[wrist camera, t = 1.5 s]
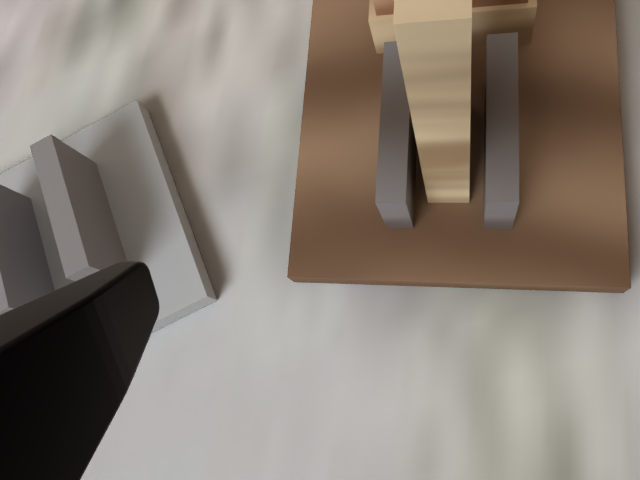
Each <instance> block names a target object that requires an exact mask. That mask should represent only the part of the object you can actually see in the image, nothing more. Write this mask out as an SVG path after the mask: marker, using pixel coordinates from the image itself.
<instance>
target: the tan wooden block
mask: <svg viewBox="0 0 640 480" xmlns="http://www.w3.org/2000/svg"><path fill="white" fill-rule="evenodd" d="M393 27H394V32H395V37H396V42H397V47H398V53H399V58H400V63H401V68H402V73H403V78H404V83H405V88H406V93H407V98H408V103H409V108H410V114H411V119H412V124H413V129H414V134H415V139H416V144H417V149H418V154H419V159H420V164H421V169H422V175H423V180H424V185H425V190H426V195H427V200H428V203H469V189H470V117H471V44H472V0H394V14H393Z"/></svg>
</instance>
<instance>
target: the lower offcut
mask: <svg viewBox="0 0 640 480" xmlns="http://www.w3.org/2000/svg"><path fill="white" fill-rule="evenodd" d="M536 11H537V0H528V3H522V4H510V5H498V6H486V7H475V8H472V44H471V47H484V46H486V41H487V34H501V33H515V32H518V44H528V43H531V38H532V33H533V27H534V22H535V16H536ZM368 22H369V26H370V30H371V33H372V37H373V41H374V45H375V49H376V53H377V54H381V53H384V42H391V41H396V37H395V32H394V27H393V14H392V15H380V16H376V12H375V8H374V3H373V0H370V2H369V18H368Z"/></svg>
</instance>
